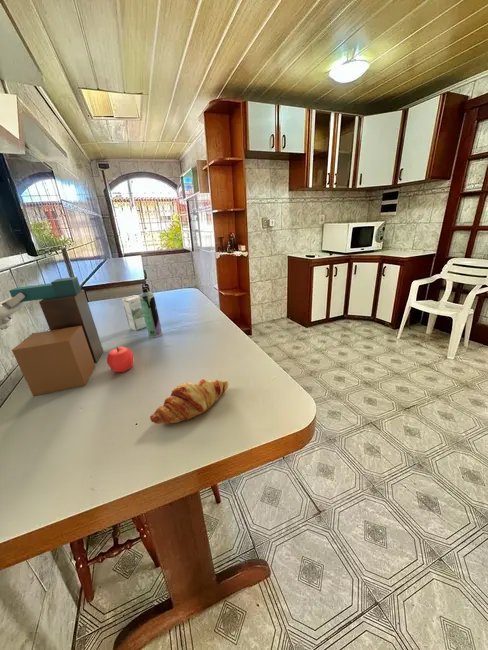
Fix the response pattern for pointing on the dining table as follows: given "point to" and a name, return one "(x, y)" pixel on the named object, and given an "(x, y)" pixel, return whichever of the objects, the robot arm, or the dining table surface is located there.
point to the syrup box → (134, 312)
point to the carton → (55, 360)
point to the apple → (120, 359)
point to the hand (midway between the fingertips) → (27, 292)
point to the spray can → (150, 313)
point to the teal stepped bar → (49, 289)
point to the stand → (73, 318)
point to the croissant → (189, 401)
